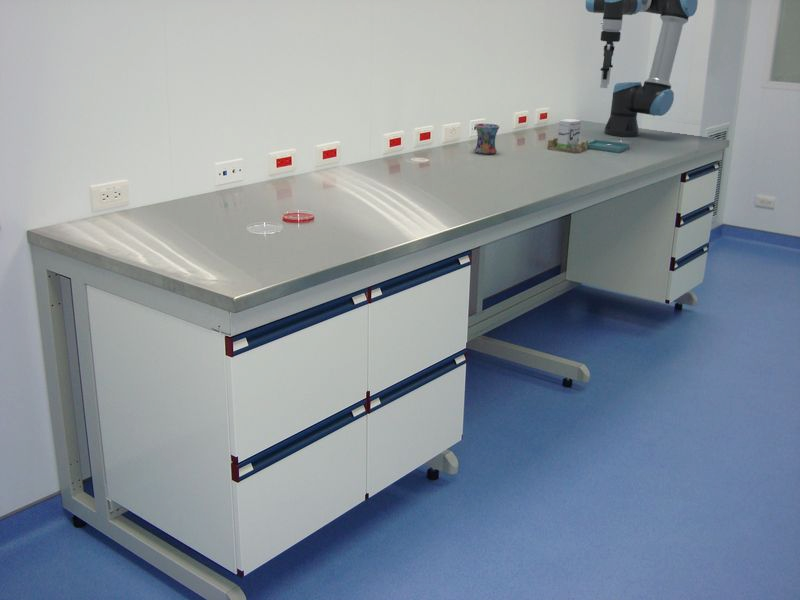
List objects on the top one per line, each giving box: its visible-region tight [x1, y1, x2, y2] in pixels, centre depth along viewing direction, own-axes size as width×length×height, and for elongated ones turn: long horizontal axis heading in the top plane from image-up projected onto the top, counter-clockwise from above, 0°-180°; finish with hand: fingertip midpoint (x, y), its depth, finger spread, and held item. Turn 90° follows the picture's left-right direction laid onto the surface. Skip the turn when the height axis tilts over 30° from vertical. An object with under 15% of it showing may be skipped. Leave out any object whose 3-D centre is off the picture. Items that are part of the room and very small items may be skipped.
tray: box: [586, 139, 631, 154], centre depth 348 cm, size 14×15×2 cm
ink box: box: [556, 118, 582, 150], centre depth 340 cm, size 9×5×12 cm, turn 135°
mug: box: [474, 123, 500, 155], centre depth 326 cm, size 12×9×11 cm
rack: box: [547, 136, 589, 154], centre depth 341 cm, size 13×13×4 cm
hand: (604, 86), depth 340 cm, fingers open, 13 cm apart
